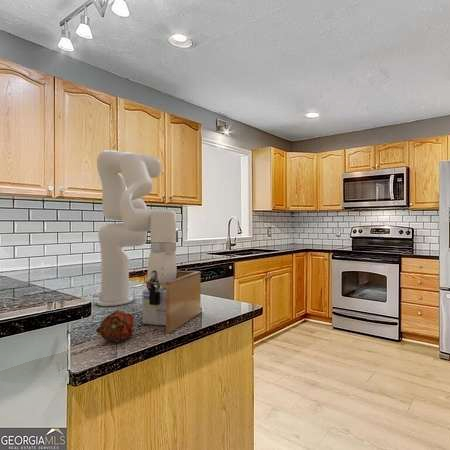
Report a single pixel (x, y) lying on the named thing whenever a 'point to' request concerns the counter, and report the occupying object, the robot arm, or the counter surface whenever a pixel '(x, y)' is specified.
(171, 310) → the shelf
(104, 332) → the dragon fruit
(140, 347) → the counter surface
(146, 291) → the light bulb box
